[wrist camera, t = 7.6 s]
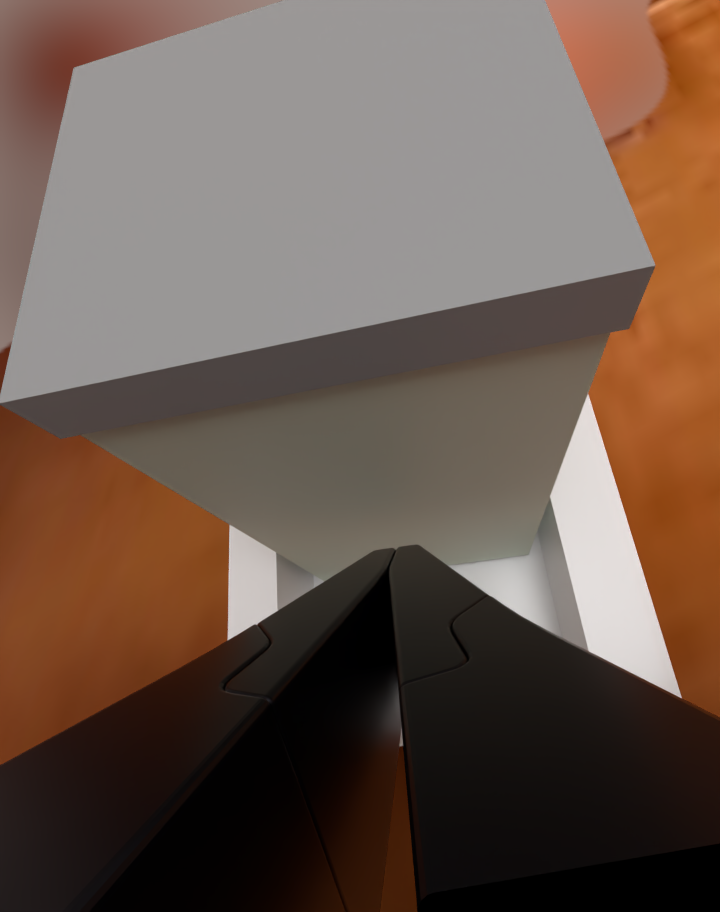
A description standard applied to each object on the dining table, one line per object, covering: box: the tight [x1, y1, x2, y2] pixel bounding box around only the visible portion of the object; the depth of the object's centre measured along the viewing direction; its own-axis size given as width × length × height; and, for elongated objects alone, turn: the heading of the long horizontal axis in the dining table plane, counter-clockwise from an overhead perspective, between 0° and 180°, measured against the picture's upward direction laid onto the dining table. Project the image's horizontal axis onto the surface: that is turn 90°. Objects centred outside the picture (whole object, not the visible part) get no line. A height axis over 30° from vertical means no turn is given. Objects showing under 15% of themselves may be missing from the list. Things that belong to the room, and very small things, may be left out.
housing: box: [228, 395, 682, 746], centre depth 15 cm, size 13×11×4 cm
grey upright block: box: [0, 0, 655, 581], centre depth 10 cm, size 5×6×11 cm
